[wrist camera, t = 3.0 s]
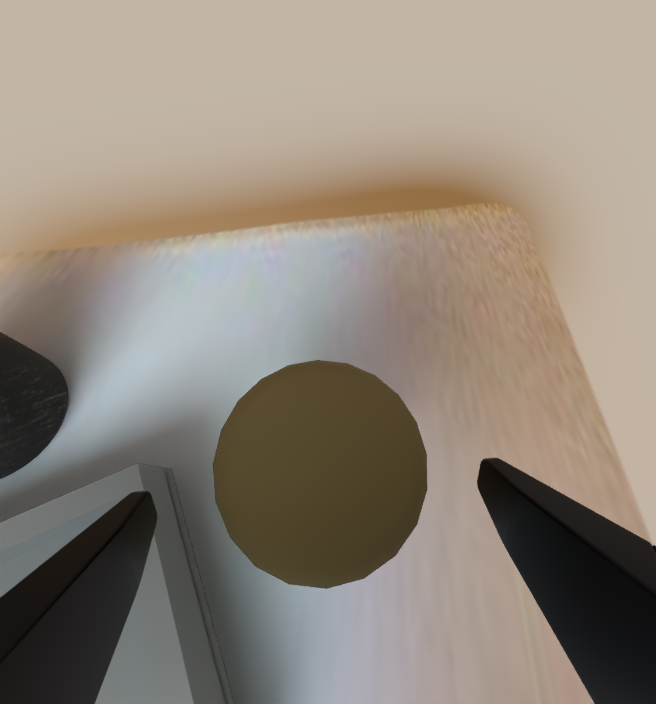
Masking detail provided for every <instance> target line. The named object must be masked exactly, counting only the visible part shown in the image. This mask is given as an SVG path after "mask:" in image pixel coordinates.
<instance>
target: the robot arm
mask: <svg viewBox="0 0 656 704" xmlns="http://www.w3.org/2000/svg"><path fill="white" fill-rule="evenodd" d="M477 485H478V489H479V492H480V494H481V496H482V498H483V501H484V503H485V505H486V507H487V509H488V512H489V514H490V516H491V518H492V520H493V523H494V525H495V527H496V529H497V531H498V534H499V536H500V538H501V540H502V542H503V544H504V546H505V548H506V549H507V551H508V553H509V555H510V557H511V558H512V560H513V562H514V564H515V565H516V567H517V569H518V571H519V572H520V574H521V576H522V578H523V579H524V581H525V583H526V585H527V586H528V588H529V590H530V592H531V593H532V595H533V597H534V599H535V600H536V602H537V604H538V606H539V607H540V609H541V611H542V613H543V614H544V616H545V618H546V619H547V621H548V623H549V625H550V626H551V628H552V630H553V632H554V633H555V635H556V637H557V639H558V640H559V642H560V644H561V646H562V647H563V649H564V651H565V653H566V654H567V656H568V658H569V660H570V661H571V663H572V665H573V667H574V668H575V670H576V672H577V674H578V675H579V677H580V679H581V681H582V682H583V684H584V686H585V688H586V689H587V691H588V693H589V695H590V696H591V698H592V700H593V702H594V703H595V704H656V546H655V545H653V546H652V544H651V543H650V542H648V541H646V540H644V539H643V538H641V537H639V536H637V535H635V534H634V533H632V532H630V531H628V530H626V529H625V528H623V527H621V526H619V525H617V524H616V523H614V522H612V521H610V520H608V519H607V518H605V517H603V516H601V515H599V514H598V513H596V512H594V511H592V510H590V509H589V508H587V507H585V506H583V505H581V504H580V503H578V502H576V501H574V500H572V499H571V498H569V497H567V496H565V495H564V494H562V493H560V492H558V491H556V490H555V489H553V488H551V487H549V486H547V485H546V484H544V483H542V482H540V481H538V480H537V479H535V478H533V477H531V476H529V475H528V474H526V473H524V472H522V471H520V470H519V469H517V468H515V467H513V466H511V465H510V464H508V463H506V462H504V461H502V460H501V459H499V458H486V459H483V460H482V461H481V464H480V469H479V475H478V480H477ZM156 524H157V511H156V507H155V504H154V501H153V498H152V494H151V492H150V491H148V490H143V491H134V492H131V493H130V494H128V495H127V496H126V497H125V498H123V499H122V500H121V501H120V502H118V503H117V504H116V505H115V506H113V507H112V508H111V509H110V510H108V511H107V512H106V513H105V514H103V515H102V516H101V517H100V518H98V519H97V520H96V521H95V522H93V523H92V524H91V525H90V526H88V527H87V528H86V529H85V530H83V531H82V532H81V533H80V534H79V535H77V536H76V537H75V538H74V539H72V540H71V541H70V542H69V543H67V544H66V545H65V546H64V547H62V548H61V549H60V550H59V551H57V552H56V553H55V554H54V555H52V556H51V557H50V558H49V559H47V560H46V561H45V562H44V563H42V564H41V565H40V566H39V567H38V568H36V569H35V570H34V571H33V572H31V573H30V574H29V575H28V576H26V577H25V578H24V579H23V580H21V581H20V582H19V583H18V584H16V585H15V586H14V587H13V588H11V589H10V590H9V591H8V592H6V593H5V594H4V595H3V596H1V597H0V704H95V702H96V699H97V697H98V694H99V691H100V689H101V686H102V683H103V681H104V678H105V676H106V673H107V670H108V668H109V665H110V662H111V660H112V657H113V655H114V652H115V649H116V647H117V644H118V641H119V639H120V636H121V634H122V631H123V628H124V626H125V623H126V620H127V618H128V615H129V612H130V610H131V607H132V605H133V602H134V599H135V597H136V594H137V591H138V588H139V585H140V582H141V579H142V575H143V572H144V568H145V564H146V561H147V557H148V553H149V550H150V546H151V542H152V539H153V535H154V531H155V528H156Z"/></svg>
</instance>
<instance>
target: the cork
mask: <svg viewBox="0 0 656 704" xmlns="http://www.w3.org/2000/svg"><path fill="white" fill-rule="evenodd" d="M213 471H214V485H215V500H216V504H217V506H218V509H219V511H220V513H221V516H222V518H223V521H224V523H225V526H226V528H227V531H228V533H229V536H230V538H231V539H232V540H233V541H234V543H235V544H236V545H237V546H238V547H239V548H240V549H241V550H242V552H243V553H244V554H245V555H246V556H247V557H248V558H249V560H250V561H251V562H252V563H253V564H254V565H255V566H256V567H258V568H260V569H261V570H263V571H265V572H267V573H269V574H271V575H273V576H275V577H276V578H278V579H280V580H282V581H284V582H286V583H288V584H291V585H300V586H309V587H317V588H326V589H327V588H331V587H334V586H338V585H342V584H345V583H349V582H353V581H357V580H360V579H364V578H365V577H367V576H368V575H369V574H371V573H372V572H374V571H375V570H376V569H378V568H379V567H381V566H382V565H383V564H385V563H386V562H387V561H389V560H390V559H392V558H393V557H394V556H396V554H397V553H398V551H399V550H400V548H401V547H402V545H403V544H404V543H405V541H406V540H407V538H408V537H409V535H410V534H411V532H412V531H413V530H414V528H415V527H416V525H417V522H418V519H419V516H420V512H421V509H422V505H423V502H424V498H425V495H426V492H427V454H426V451H425V448H424V444H423V441H422V438H421V435H420V432H419V429H418V425H417V422H416V421H415V419H414V418H413V416H412V415H411V413H410V412H409V410H408V409H407V407H406V406H405V404H404V403H403V401H402V400H401V398H400V397H399V395H398V394H396V393H395V392H394V391H393V390H392V389H390V388H389V387H388V386H387V385H386V384H384V383H383V382H382V381H381V380H380V379H378V378H377V377H376V376H375V375H373V374H370V373H368V372H366V371H363V370H361V369H359V368H356V367H354V366H352V365H349V364H346V363H338V362H329V361H321V360H316V361H311V362H305V363H299V364H294V365H288V366H286V367H284V368H282V369H280V370H278V371H276V372H274V373H272V374H271V375H269V376H267V377H265V378H263V379H261V380H260V381H259V382H258V383H257V384H256V385H255V386H253V387H252V388H251V389H250V390H249V391H248V392H247V393H246V394H245V395H244V396H243V397H242V398H241V399H240V400H239V401H238V402H237V404H236V405H235V407H234V409H233V411H232V412H231V414H230V416H229V418H228V419H227V421H226V423H225V424H224V426H223V428H222V430H221V433H220V437H219V442H218V446H217V450H216V454H215V459H214V463H213Z"/></svg>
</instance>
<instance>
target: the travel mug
mask: <svg viewBox="0 0 656 704" xmlns="http://www.w3.org/2000/svg"><path fill="white" fill-rule="evenodd" d="M67 401H68V391H67V385H66V382H65V379H64V377H63V375H62V373H61V372H60V370H59V369H58V368H57V367H56V366H55V365H54V364H53V363H52V362H50V361H49V360H48V359H46V358H45V357H43V356H41V355H40V354H38V353H36V352H35V351H33V350H31V349H29V348H28V347H26V346H24V345H23V344H21V343H19V342H17V341H15V340H14V339H12V338H10V337H8V336H7V335H5V334H3V333H1V332H0V479H1V478H3V477H5V476H8V475H10V474H12V473H14V472H15V471H17V470H19V469H21V468H22V467H23V466H25V465H26V464H28V463H29V462H30V461H32V460H33V459H34V458H35V457H36V456H37V455H38V454H39V453H40V452H41V451H42V450H43V449H44V448H45V447H46V446H47V445H48V444H49V442H50V441H51V440H52V439H53V437H54V435H55V434H56V432H57V431H58V429H59V427H60V425H61V423H62V421H63V418H64V415H65V412H66V408H67Z"/></svg>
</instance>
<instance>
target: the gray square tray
mask: <svg viewBox="0 0 656 704" xmlns="http://www.w3.org/2000/svg"><path fill="white" fill-rule="evenodd" d="M143 490H148V491H150V492H151V494H152V498H153V501H154V504H155V507H156V511H157V524H156V528H155V531H154V535H153V539H152V542H151V546H150V550H149V553H148V557H147V561H146V564H145V568H144V572H143V575H142V579H141V582H140V585H139V588H138V591H137V594H136V597H135V599H134V602H133V605H132V607H131V610H130V612H129V615H128V618H127V620H126V623H125V626H124V628H123V631H122V634H121V636H120V639H119V641H118V644H117V647H116V649H115V652H114V655H113V657H112V660H111V662H110V665H109V668H108V670H107V673H106V676H105V678H104V681H103V683H102V686H101V689H100V691H99V694H98V697H97V699H96V702H95V704H234V701H233V697H232V694H231V690H230V686H229V682H228V679H227V675H226V671H225V668H224V664H223V660H222V656H221V653H220V649H219V645H218V642H217V638H216V634H215V630H214V627H213V623H212V619H211V616H210V612H209V608H208V604H207V601H206V597H205V593H204V590H203V586H202V582H201V578H200V575H199V571H198V567H197V564H196V560H195V556H194V552H193V549H192V545H191V541H190V537H189V534H188V530H187V526H186V523H185V519H184V515H183V511H182V508H181V504H180V500H179V497H178V493H177V489H176V485H175V482H174V478H173V474H172V471H171V469H168V468H163V467H157V466H151V465H145V464H139V463H137V464H134V465H132V466H130V467H127V468H125V469H123V470H120V471H118V472H116V473H114V474H111V475H109V476H107V477H104V478H102V479H100V480H97V481H95V482H93V483H90V484H88V485H86V486H83V487H81V488H79V489H77V490H74V491H72V492H70V493H67V494H65V495H63V496H60V497H58V498H56V499H53V500H51V501H49V502H46V503H44V504H42V505H39V506H37V507H35V508H33V509H30V510H28V511H26V512H23V513H21V514H19V515H16V516H14V517H12V518H9V519H7V520H5V521H2V522H0V597H1V596H3V595H4V594H5V593H6V592H8V591H9V590H10V589H11V588H13V587H14V586H15V585H16V584H18V583H19V582H20V581H21V580H23V579H24V578H25V577H26V576H28V575H29V574H30V573H31V572H33V571H34V570H35V569H36V568H38V567H39V566H40V565H41V564H42V563H44V562H45V561H46V560H47V559H49V558H50V557H51V556H52V555H54V554H55V553H56V552H57V551H59V550H60V549H61V548H62V547H64V546H65V545H66V544H67V543H69V542H70V541H71V540H72V539H74V538H75V537H76V536H77V535H79V534H80V533H81V532H82V531H83V530H85V529H86V528H87V527H88V526H90V525H91V524H92V523H93V522H95V521H96V520H97V519H98V518H100V517H101V516H102V515H103V514H105V513H106V512H107V511H108V510H110V509H111V508H112V507H113V506H115V505H116V504H117V503H118V502H120V501H121V500H122V499H123V498H125V497H126V496H127V495H128V494H130V493H131V492H134V491H143Z"/></svg>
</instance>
